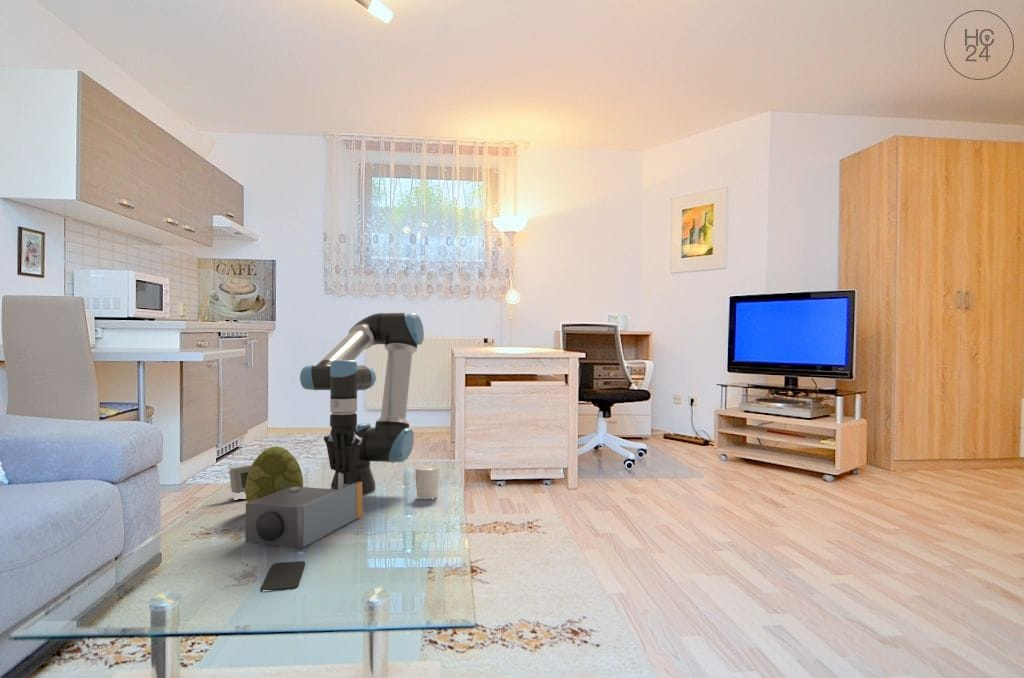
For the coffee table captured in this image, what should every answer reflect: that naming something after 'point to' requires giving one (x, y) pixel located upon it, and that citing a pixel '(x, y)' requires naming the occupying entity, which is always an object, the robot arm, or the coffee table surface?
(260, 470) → the decorative sculpture
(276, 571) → the phone
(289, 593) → the coffee table surface
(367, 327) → the robot arm
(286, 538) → the camera body
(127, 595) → the coffee table surface
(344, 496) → the side door
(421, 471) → the white cup
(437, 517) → the coffee table surface
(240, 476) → the digital clock
